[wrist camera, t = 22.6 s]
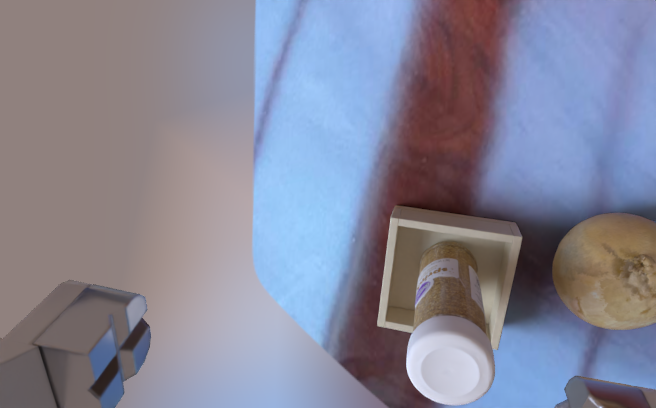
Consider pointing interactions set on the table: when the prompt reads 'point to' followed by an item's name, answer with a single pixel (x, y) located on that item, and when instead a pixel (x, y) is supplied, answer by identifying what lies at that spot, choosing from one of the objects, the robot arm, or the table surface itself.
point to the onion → (609, 271)
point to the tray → (435, 227)
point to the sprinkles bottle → (450, 329)
